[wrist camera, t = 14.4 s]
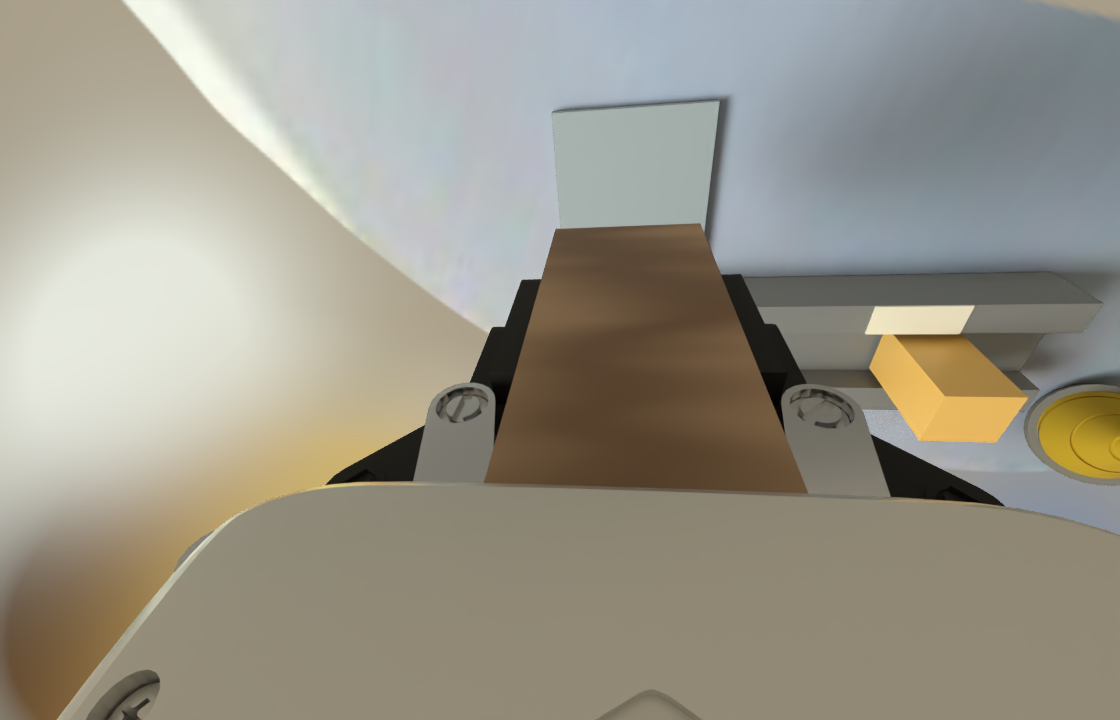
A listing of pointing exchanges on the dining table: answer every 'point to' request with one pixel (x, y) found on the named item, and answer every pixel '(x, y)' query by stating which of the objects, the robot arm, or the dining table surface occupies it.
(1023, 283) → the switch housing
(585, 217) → the mat
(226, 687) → the robot arm
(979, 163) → the dining table surface
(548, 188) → the dining table surface
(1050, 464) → the yellow-filled grey round bowl
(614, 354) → the wooden block
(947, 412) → the switch tab
